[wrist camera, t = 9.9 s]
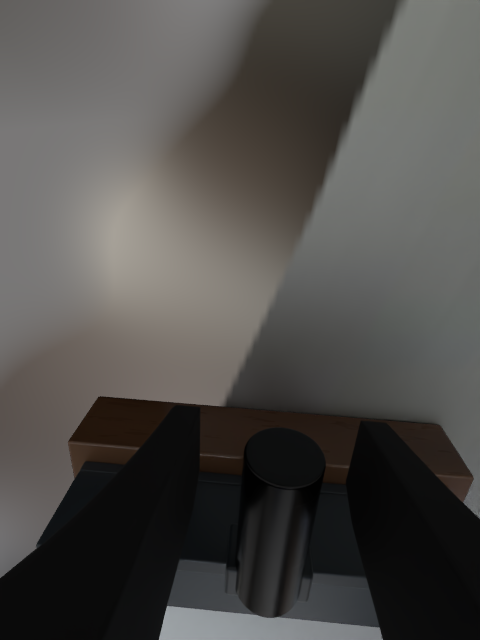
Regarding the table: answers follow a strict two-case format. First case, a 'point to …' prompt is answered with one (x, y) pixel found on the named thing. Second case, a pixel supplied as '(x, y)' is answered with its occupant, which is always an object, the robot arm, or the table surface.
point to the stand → (240, 425)
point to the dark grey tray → (261, 536)
